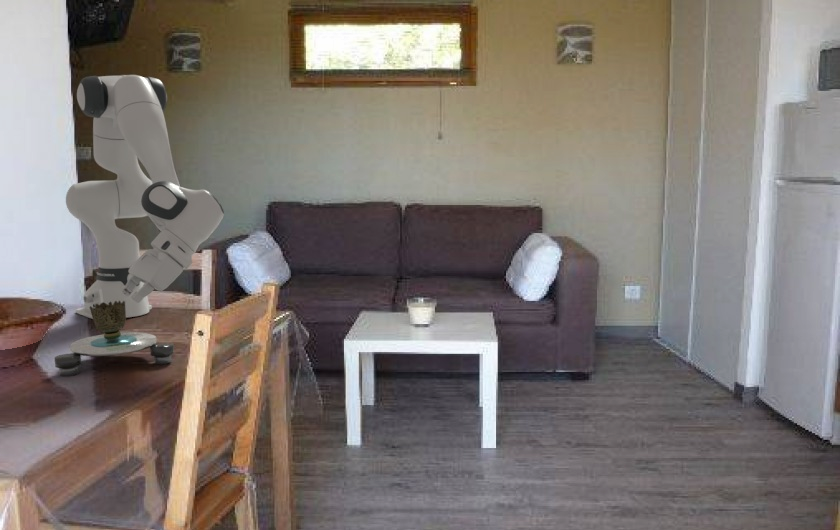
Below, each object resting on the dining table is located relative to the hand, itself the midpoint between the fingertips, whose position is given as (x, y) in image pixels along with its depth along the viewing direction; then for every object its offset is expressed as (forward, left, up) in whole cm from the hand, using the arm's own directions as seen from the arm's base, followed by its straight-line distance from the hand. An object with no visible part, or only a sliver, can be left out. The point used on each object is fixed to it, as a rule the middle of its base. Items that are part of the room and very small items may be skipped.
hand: (129, 297), depth 167 cm
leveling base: (-1, -6, -14) cm, 16 cm away
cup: (-3, -3, -9) cm, 10 cm away
